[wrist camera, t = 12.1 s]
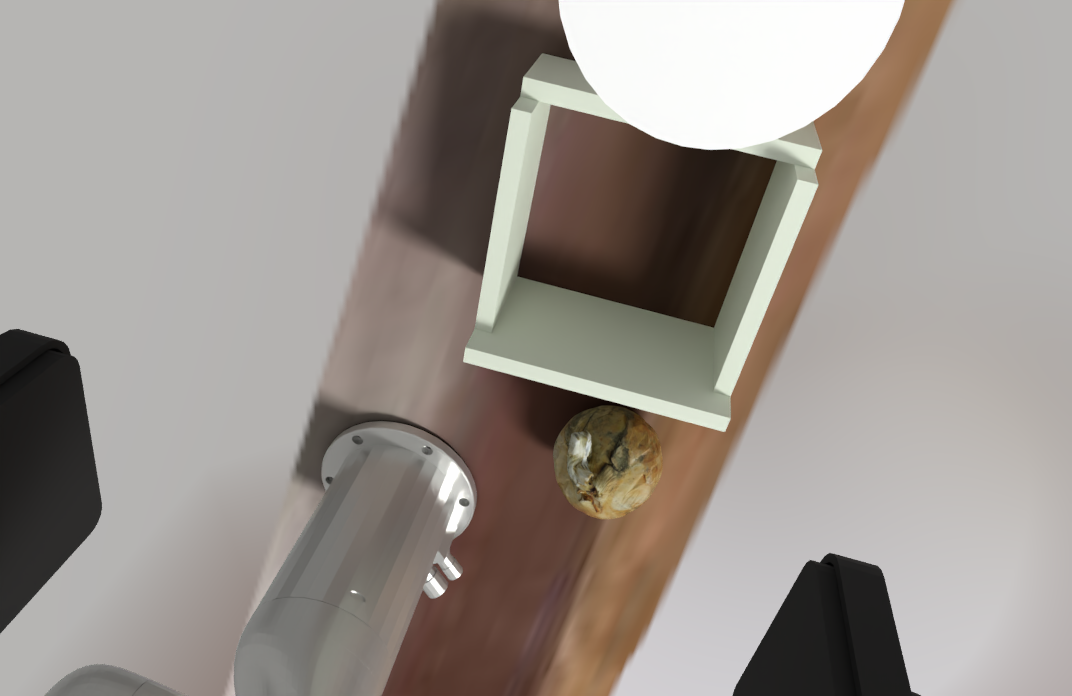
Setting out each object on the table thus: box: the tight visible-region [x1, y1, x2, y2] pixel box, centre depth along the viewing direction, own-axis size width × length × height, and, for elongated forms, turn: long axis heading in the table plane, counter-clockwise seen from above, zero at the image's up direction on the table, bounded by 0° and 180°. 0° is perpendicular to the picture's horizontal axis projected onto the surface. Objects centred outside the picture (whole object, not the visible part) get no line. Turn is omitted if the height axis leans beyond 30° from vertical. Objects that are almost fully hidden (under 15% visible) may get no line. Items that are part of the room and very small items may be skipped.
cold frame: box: [463, 53, 822, 432], centre depth 44 cm, size 15×15×9 cm
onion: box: [553, 405, 662, 519], centre depth 54 cm, size 8×8×8 cm
